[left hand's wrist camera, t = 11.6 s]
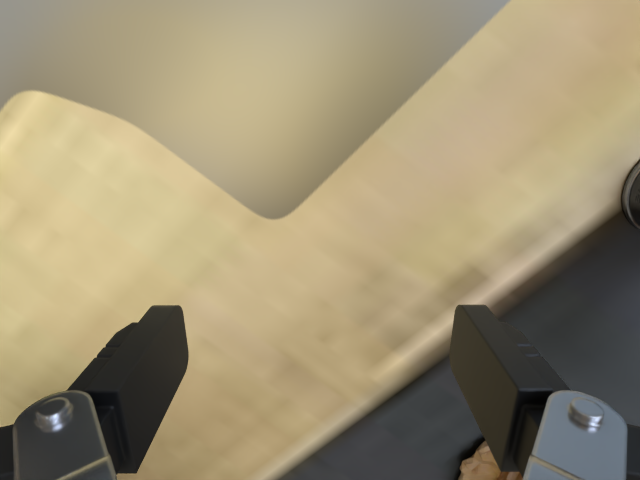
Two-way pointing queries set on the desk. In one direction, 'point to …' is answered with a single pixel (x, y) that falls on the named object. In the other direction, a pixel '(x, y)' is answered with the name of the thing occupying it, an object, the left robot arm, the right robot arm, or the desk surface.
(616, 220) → the desk surface
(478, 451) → the sculpture
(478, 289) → the desk surface
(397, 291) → the desk surface
